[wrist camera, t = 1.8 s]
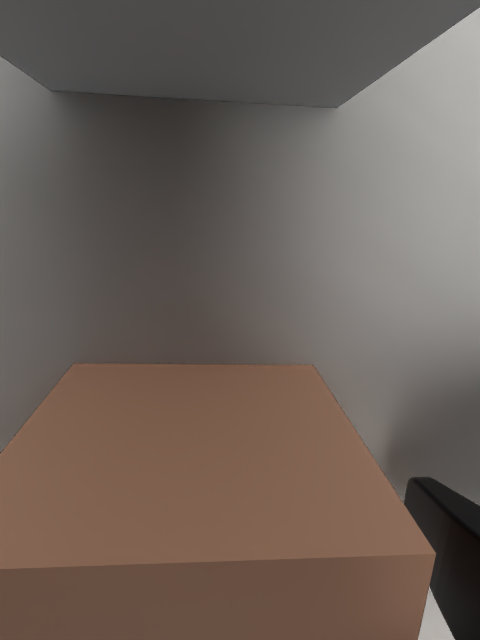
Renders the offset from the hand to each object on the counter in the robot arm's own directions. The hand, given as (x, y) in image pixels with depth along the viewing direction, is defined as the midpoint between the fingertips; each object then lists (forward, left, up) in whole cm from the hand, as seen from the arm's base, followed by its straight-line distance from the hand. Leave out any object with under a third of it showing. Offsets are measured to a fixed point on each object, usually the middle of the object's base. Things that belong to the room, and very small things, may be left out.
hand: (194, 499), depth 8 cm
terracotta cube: (0, 0, -1) cm, 1 cm away
